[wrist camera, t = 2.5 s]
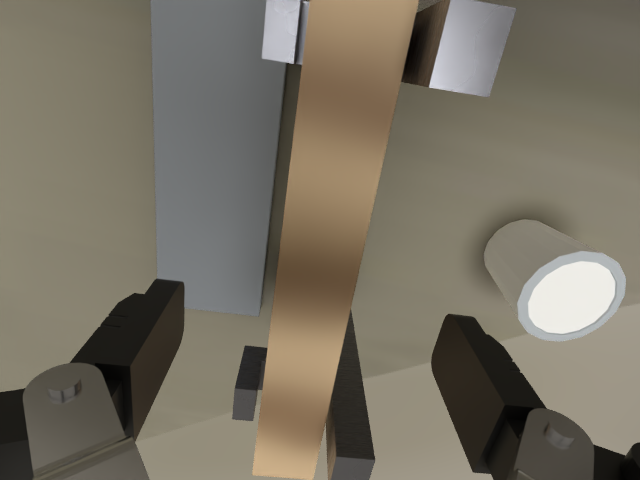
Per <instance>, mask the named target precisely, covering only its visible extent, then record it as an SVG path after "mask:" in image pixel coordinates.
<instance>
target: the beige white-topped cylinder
mask: <svg viewBox="0 0 640 480" xmlns="http://www.w3.org/2000/svg"><path fill="white" fill-rule="evenodd" d="M484 262H485V267H486V268H487V270H488V271H489V273H490V275H491V276H492V278H493V279H494V281H495V283H496V284H497V286H498V287H499V289H500V291H501V292H502V294H503V295H504V297H505V299H506V300H507V302H508V303H509V305H510V307H511V308H512V310H513V311H514V313H515V314H516V316H517V318H518V319H519V321H520V322H521V324H522V325H523V327H524V328H525V329H526V331H527V332H528V333H530V334H532V335H534V336H536V337H538V338H540V339H542V340H551V341H565V340H570V339H574V338H579V337H582V336H584V335H586V334H588V333H590V332H591V331H593V330H595V329H597V328H599V327H601V326H602V325H603V324H604V323H605V322H606V321H607V320H608V319H609V318H610V317H611V316H612V315H613V314H614V313H615V312H616V311H617V309H618V307H619V305H620V303H621V301H622V299H623V297H624V295H625V283H626V277H625V275H624V273H623V271H622V269H621V267H620V265H619V263H618V262H616V261H615V260H613V259H611V258H610V257H608V256H607V255H605V254H603V253H601V252H599V251H597V250H595V249H593V248H591V247H589V246H587V245H585V244H583V243H581V242H579V241H577V240H575V239H573V238H571V237H569V236H567V235H565V234H563V233H561V232H559V231H557V230H555V229H553V228H551V227H549V226H547V225H545V224H543V223H541V222H539V221H536V220H527V219H522V220H518V221H514V222H510V223H508V224H507V225H505V226H504V227H502V228H500V229H499V230H497V231H496V232H495V234H494V235H493V236H492V237H491V239H490V240H489V241H488V243H487V246H486V249H485V252H484Z"/></svg>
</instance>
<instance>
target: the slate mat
mask: <svg viewBox="0 0 640 480" xmlns="http://www.w3.org/2000/svg"><path fill="white" fill-rule="evenodd" d="M266 1H267V0H151V36H152V77H153V118H154V159H155V201H156V242H157V279H166V280H174V281H182V282H184V286H185V300H184V308H188V309H197V310H206V311H215V312H224V313H233V314H241V315H250V316H259V314H260V309H261V302H262V293H263V283H264V274H265V265H266V255H267V246H268V236H269V227H270V218H271V208H272V199H273V190H274V180H275V171H276V161H277V152H278V143H279V133H280V124H281V114H282V105H283V96H284V86H285V77H286V68H287V63H286V62H280V61H274V60H268V59H262V50H263V37H264V25H265V13H266Z"/></svg>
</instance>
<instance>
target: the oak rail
mask: <svg viewBox="0 0 640 480" xmlns="http://www.w3.org/2000/svg"><path fill="white" fill-rule="evenodd" d="M418 2H419V0H310V3H309V11H308V20H307V28H306V36H305V44H304V53H303V61H302V69H301V77H300V85H299V94H298V102H297V110H296V118H295V127H294V135H293V143H292V151H291V160H290V168H289V176H288V184H287V193H286V201H285V209H284V217H283V226H282V234H281V242H280V250H279V258H278V267H277V275H276V283H275V291H274V300H273V308H272V316H271V324H270V333H269V341H268V349H267V357H266V366H265V374H264V382H263V390H262V399H261V407H260V416H259V424H258V432H257V440H256V448H255V456H254V465H253V473H252V475H258V476H270V477H283V478H295V479H308V480H313V476H314V472H315V468H316V463H317V459H318V454H319V449H320V445H321V441H322V436H323V431H324V427H325V423H326V418H327V413H328V409H329V404H330V400H331V395H332V391H333V386H334V382H335V377H336V373H337V368H338V364H339V359H340V355H341V350H342V346H343V341H344V337H345V332H346V328H347V323H348V319H349V314H350V309H351V305H352V300H353V296H354V291H355V287H356V282H357V278H358V273H359V269H360V264H361V260H362V255H363V251H364V246H365V242H366V237H367V233H368V228H369V224H370V219H371V215H372V210H373V206H374V201H375V196H376V192H377V187H378V183H379V178H380V174H381V169H382V165H383V160H384V156H385V151H386V147H387V142H388V138H389V133H390V129H391V124H392V120H393V115H394V111H395V106H396V102H397V97H398V92H399V88H400V83H401V79H402V74H403V70H404V65H405V61H406V56H407V52H408V47H409V43H410V38H411V34H412V29H413V25H414V20H415V16H416V11H417V7H418Z"/></svg>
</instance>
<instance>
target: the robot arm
mask: <svg viewBox="0 0 640 480" xmlns="http://www.w3.org/2000/svg"><path fill="white" fill-rule="evenodd" d="M184 300H185V286H184V282H182V281H174V280H166V279H156V280H155V281H154V282H153V283H152V285H151V286H150V287H149V289H148V290H147V292H146V293H145V294H137V293H134V294H132V295H130V296H129V297H127V298H125V299H124V300H122V301H120V302H119V303H118V304H117V305H116V306H115V308H114V309H113V310H112V311H111V312H110V314H109V317H106V319H105V320H104V321H103V322H102V324H101V326H100V327H98V328H97V330H96V331H95V332H94V333H93V335H92V336H91V337H90V338H89V340H88V341H87V342H86V343H85V344H84V346H83V347H82V348H81V349H80V351H79V352H78V353H77V354H76V356H75V357H74V358H73V359H72V360H71V362H70V363H68V364H63V365H59V366H56V367H53V368H51V369H49V370H46V371H45V372H43V373H41V374H39V375H38V376H37V377H35V378H34V379H33V380H32V381H31V382H30V383H29V384H28V385H27V387H26V388H25V389H19V390H13V391H6V392H0V480H150V479H149V477H148V474H147V472H146V469H145V466H144V464H143V461H142V459H141V456H140V454H139V451H138V448H137V446H136V444H135V441H136V439H137V436H138V434H139V432H140V430H141V428H142V426H143V424H144V421H145V419H146V417H147V415H148V413H149V411H150V409H151V406H152V404H153V402H154V400H155V398H156V396H157V394H158V391H159V389H160V387H161V385H162V383H163V381H164V378H165V376H166V374H167V372H168V370H169V368H170V366H171V363H172V361H173V359H174V357H175V355H176V353H177V351H178V348H179V346H180V343H181V340H182V336H183V331H184ZM431 365H432V372H433V375H434V378H435V380H436V382H437V385H438V387H439V390H440V392H441V395H442V397H443V400H444V402H445V405H446V407H447V410H448V412H449V415H450V417H451V419H452V422H453V424H454V427H455V429H456V432H457V434H458V437H459V439H460V442H461V444H462V447H463V449H464V451H465V454H466V457H467V459H468V461H469V464H470V466H471V469H472V471H473V472H475V473H486V474H491V475H492V477H493V479H494V480H640V443H636V444H634V445H633V446H632V448H631V449H630V450H629V452H628V453H627V455H626V456H625V455H622V454H619V453H616V452H613V451H610V450H608V449H605V448H602V447H599V446H596V445H593V443H592V442H591V440H590V438H589V436H588V435H587V434H586V433H585V431H584V430H583V429H582V428H580V426H578V425H577V424H576V423H575V422H573V421H572V420H570V419H569V418H567V417H566V416H564V415H562V414H560V413H557V412H555V411H553V410H549V409H547V408H546V407H545V405H544V404H543V402H542V401H541V400H540V398H539V397H538V395H537V394H536V393H535V391H534V390H533V388H532V387H531V385H530V384H529V382H528V381H527V380H526V378H525V377H524V375H523V374H522V373H520V370H519V368H518V367H517V365H516V364H515V363H514V362H512V358H511V357H510V355H509V354H508V352H507V351H506V350H505V348H504V347H503V346H502V345H501V344H500V343H499V342H497V341H496V340H495V339H494V338H493V337H491V336H490V335H487V334H485V332H484V331H483V329H482V328H481V326H480V325H479V323H478V322H477V320H476V319H475V318H474V317H472V316H463V315H455V314H448V315H447V316H446V317H445V319H444V321H443V324H442V327H441V330H440V333H439V336H438V339H437V342H436V345H435V347H434V350H433V354H432V361H431Z"/></svg>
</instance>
